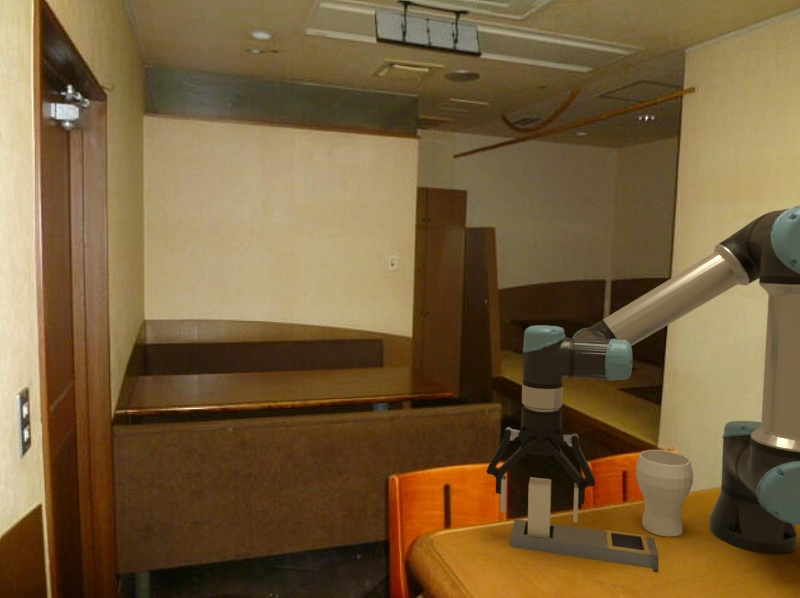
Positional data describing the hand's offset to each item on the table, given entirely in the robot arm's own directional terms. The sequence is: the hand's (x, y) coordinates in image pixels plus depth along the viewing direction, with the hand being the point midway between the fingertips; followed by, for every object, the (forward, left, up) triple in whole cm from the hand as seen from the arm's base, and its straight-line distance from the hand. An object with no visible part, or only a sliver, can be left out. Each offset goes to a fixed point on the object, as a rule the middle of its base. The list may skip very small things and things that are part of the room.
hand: (538, 514), depth 112 cm
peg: (0, 0, -6) cm, 6 cm away
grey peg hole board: (-8, 0, -6) cm, 10 cm away
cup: (-24, -15, -6) cm, 29 cm away
